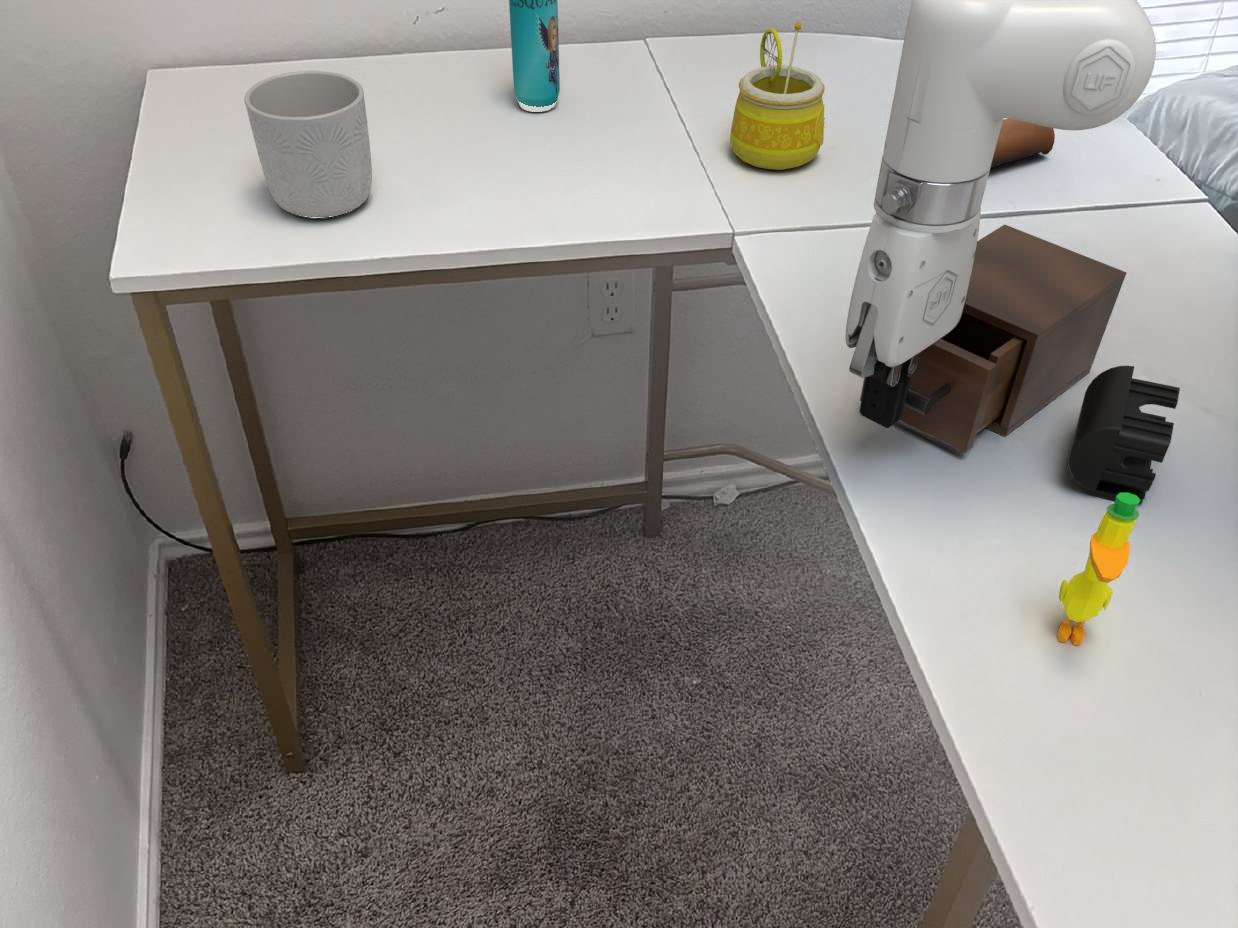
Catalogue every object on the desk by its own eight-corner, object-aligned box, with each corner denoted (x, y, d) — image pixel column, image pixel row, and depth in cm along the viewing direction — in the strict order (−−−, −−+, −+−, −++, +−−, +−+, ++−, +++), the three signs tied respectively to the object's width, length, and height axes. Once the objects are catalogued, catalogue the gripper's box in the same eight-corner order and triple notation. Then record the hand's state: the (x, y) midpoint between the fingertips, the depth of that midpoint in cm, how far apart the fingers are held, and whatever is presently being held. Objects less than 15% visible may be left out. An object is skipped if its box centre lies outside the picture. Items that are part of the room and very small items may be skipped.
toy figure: (1092, 671, 85) (1155, 540, 75) (1043, 662, 85) (1099, 531, 76) (1094, 612, 88) (1154, 480, 79) (1047, 603, 89) (1101, 471, 79)
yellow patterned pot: (809, 182, 132) (826, 63, 122) (718, 168, 134) (727, 50, 124) (832, 137, 139) (850, 21, 129) (745, 124, 141) (756, 9, 131)
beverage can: (547, 118, 142) (542, -28, 130) (506, 110, 143) (498, -35, 131) (567, 101, 145) (564, -43, 133) (527, 93, 146) (521, -50, 134)
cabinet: (1005, 437, 102) (1038, 335, 94) (890, 381, 107) (912, 280, 100) (1089, 372, 108) (1127, 272, 101) (977, 323, 114) (1004, 223, 106)
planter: (292, 172, 133) (270, 65, 124) (393, 183, 131) (379, 75, 122) (251, 222, 125) (225, 112, 117) (358, 234, 124) (340, 123, 115)
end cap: (1071, 427, 103) (1098, 357, 98) (1152, 445, 101) (1184, 374, 96) (1055, 491, 97) (1082, 420, 92) (1140, 510, 96) (1173, 439, 90)
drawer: (937, 474, 97) (960, 390, 91) (831, 419, 102) (846, 336, 96) (1047, 391, 105) (1076, 308, 99) (944, 343, 110) (965, 262, 103)
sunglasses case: (1002, 127, 139) (1036, 84, 133) (1028, 178, 139) (1063, 137, 133) (887, 161, 134) (917, 118, 128) (914, 214, 134) (945, 173, 127)
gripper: (912, 242, 77) (862, 475, 91) (1032, 171, 83) (967, 399, 98) (824, 205, 80) (789, 436, 94) (945, 139, 86) (895, 365, 101)
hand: (879, 417), depth 96 cm, fingers closed
